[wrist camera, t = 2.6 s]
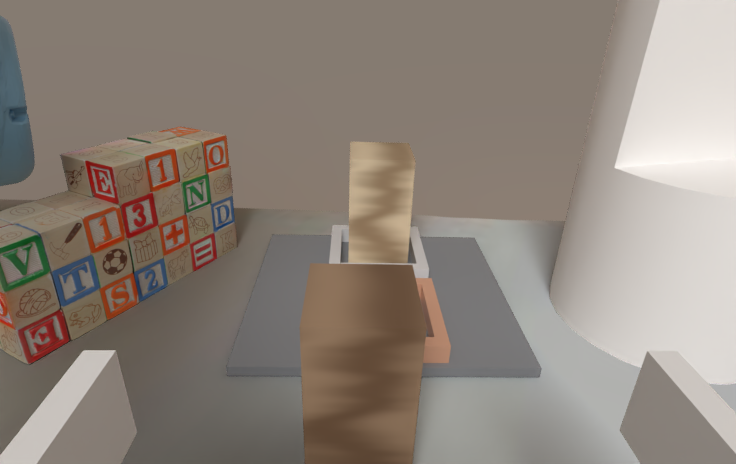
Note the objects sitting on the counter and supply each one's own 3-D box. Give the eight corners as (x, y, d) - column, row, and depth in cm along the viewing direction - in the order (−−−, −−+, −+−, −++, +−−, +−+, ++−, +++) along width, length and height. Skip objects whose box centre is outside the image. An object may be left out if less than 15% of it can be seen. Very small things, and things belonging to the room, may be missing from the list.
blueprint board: (227, 375, 33) (223, 349, 32) (272, 241, 51) (271, 221, 50) (539, 377, 33) (545, 351, 32) (473, 244, 52) (476, 225, 51)
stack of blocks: (29, 369, 33) (-31, 207, 27) (-20, 340, 35) (-84, 186, 30) (239, 247, 50) (227, 132, 45) (196, 233, 53) (180, 123, 47)
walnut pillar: (306, 494, 25) (299, 327, 20) (314, 412, 30) (310, 263, 25) (408, 493, 25) (426, 328, 20) (399, 413, 30) (412, 264, 25)
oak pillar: (348, 272, 44) (349, 159, 39) (348, 245, 49) (350, 141, 44) (406, 273, 44) (415, 160, 39) (401, 246, 49) (408, 143, 44)
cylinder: (512, 275, 46) (576, -58, 34) (650, 254, 51) (750, -43, 39) (656, 406, 31) (863, -100, 19) (832, 360, 36) (1087, -68, 24)
